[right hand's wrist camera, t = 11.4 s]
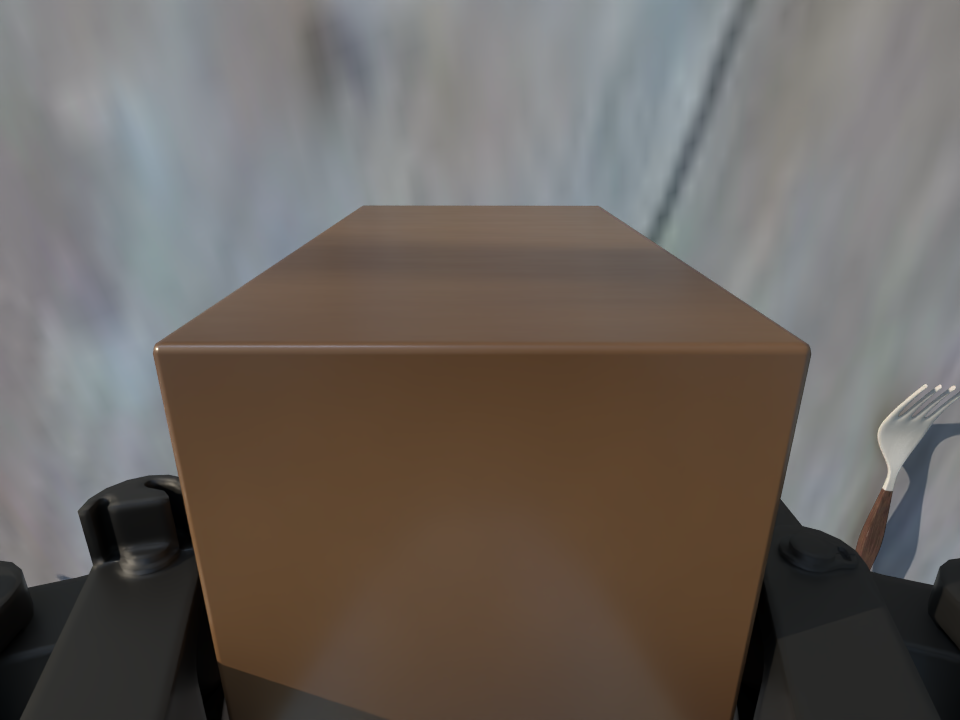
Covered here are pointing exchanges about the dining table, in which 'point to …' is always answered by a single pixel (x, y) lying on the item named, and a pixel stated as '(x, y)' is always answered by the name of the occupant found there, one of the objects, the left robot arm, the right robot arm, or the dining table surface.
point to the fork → (897, 461)
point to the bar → (481, 471)
